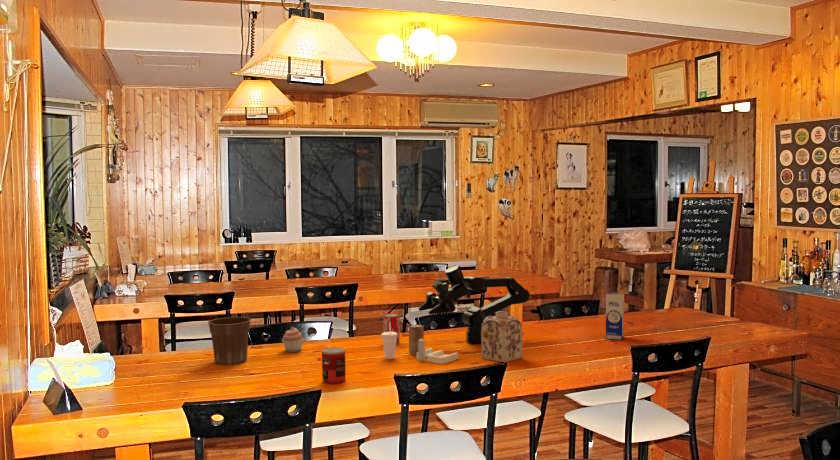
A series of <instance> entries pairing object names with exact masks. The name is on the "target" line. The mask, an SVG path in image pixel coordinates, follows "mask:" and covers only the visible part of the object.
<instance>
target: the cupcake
mask: <svg viewBox="0 0 840 460" xmlns="http://www.w3.org/2000/svg"><path fill="white" fill-rule="evenodd" d="M304 340H305V337H303V334H302V333H301V331H299V329H298V328H296V327H294V326H291V327H290V329H289V330H286V331H285V333H284V334H283V337H282V339H281V342H282V343H283V347H284V349H285V352H287V353H296V352H300V351H302V347H303V343H304Z"/></svg>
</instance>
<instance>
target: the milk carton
mask: <svg viewBox="0 0 840 460" xmlns="http://www.w3.org/2000/svg"><path fill="white" fill-rule="evenodd" d="M624 298H625V295H624V294H621V293H620V292H616V291H615V292H614V291H613V292H611V293H605V340H611V341H612V340H613V341H614V340H615V341H623V339H624V334H625V333H624V332H625V329H624V328H625V327H624V324H625V319H624V317H625V315H624V313H625V312H624V311H625V310H624V309H625V307H624V306H625V305H624V304H625V299H624Z"/></svg>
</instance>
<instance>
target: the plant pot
mask: <svg viewBox="0 0 840 460" xmlns="http://www.w3.org/2000/svg"><path fill="white" fill-rule="evenodd" d="M251 321H252V319H251V318H250V317H246V316H245V317H243V316H230V317H229V316H228V317H220V318H215V319H211V320H208V321H207V325H208V327H209V333H210V334H211V335H210V336H211V342H212V348H213V349H212V350H213V356H214V357H213V358H214V363H215V364H217V365H219V364H220V365H225V366H231V365H230V364H232V365H237V364H240V363H245V362H246V361H247V360H248V345H249V344H248V343H249V331H250V325H251Z"/></svg>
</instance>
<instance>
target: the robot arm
mask: <svg viewBox="0 0 840 460" xmlns="http://www.w3.org/2000/svg"><path fill="white" fill-rule="evenodd" d="M461 268H462V267H461V266H460V265H456V266H452V267H449V268H447V269H446V270H445V271H444V273H445V276H446V278H447V280H448V282H442V281H440V280H435V282H434V283H433V284H432V285H431V287H432V288H433V289H434V290H435V291H436V292H431V291H429V292H427V293H426V296H425V298H426V299H425V301H424V302H423V303H422V304H421V305H420V307H418V311H419V312H422V311H427V310H429V311H428V314H429V315H439V314H449V313H451V314H452V313H453V312H455V311H456V309H457V307H456V305H455V304H456V303H458V300H460V299H462V298H465V299H469V300H470V299H471V295H472V292H470V290H471V291H475V292H478V291H481V290H484V289H486V288H500V287H502V288H503V287H505V288H506V290H507V294H506V295H505V296H503V297H501V298H499V299H497V300H495V301H493V302H490V303H489V304H486V305H484V306H482V307H478V306H475V305H474V306H472V307H470V308H467V309H465V311H464V312H462V316H461V320H462V322H463V323H464V326H465V327H466V328H467V330H466V332H465V333H466V335H465V342H466V343H468V344H470V345H477V344H479V345H480V344H481V325H482V323H483V322H484V321H485V320H486V319H487V317H490V316H493V315H494V314H496V312H498V311H503V310H504V309H506V308H508V307H510V306H512V305H519V304H523V303H526V302H528V301H529V300H530V296H531V295H530V292H529V290H528V289H526V288H525V287H523V286H522V285H521V284H520V283H518V281H517V280H516V279H515V278H514V277H509V276H505V277H478V276H473V275H468V276H464V274H463V271H462V269H461ZM450 285H452V287H451V288H450Z"/></svg>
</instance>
